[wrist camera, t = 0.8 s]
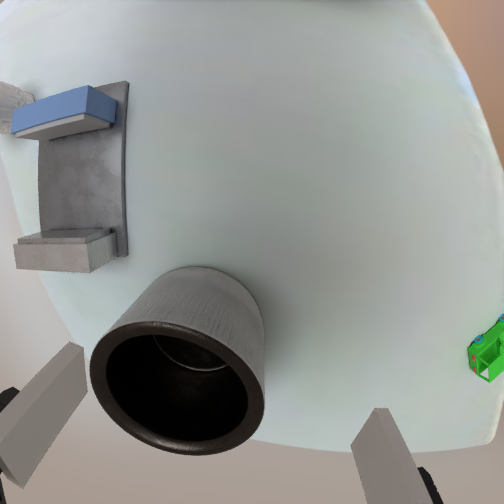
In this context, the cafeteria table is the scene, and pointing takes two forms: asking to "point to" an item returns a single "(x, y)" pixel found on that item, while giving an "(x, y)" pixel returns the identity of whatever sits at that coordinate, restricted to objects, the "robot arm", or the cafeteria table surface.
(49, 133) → the sliding jaw
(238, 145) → the cafeteria table surface
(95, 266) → the fixed jaw
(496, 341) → the toy car
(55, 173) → the vise bed
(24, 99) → the white cup
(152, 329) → the planter
